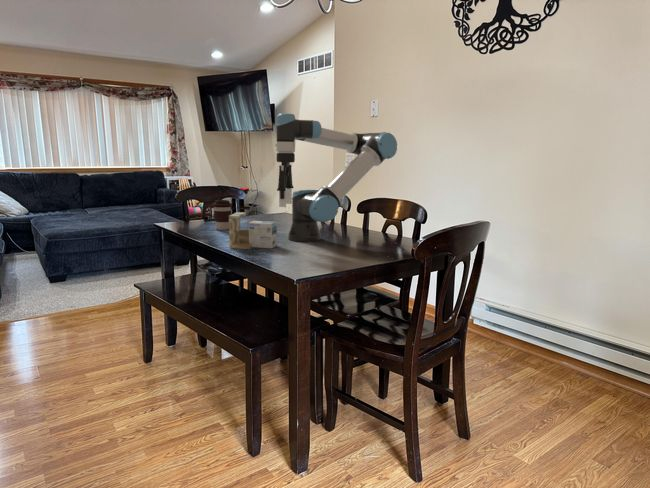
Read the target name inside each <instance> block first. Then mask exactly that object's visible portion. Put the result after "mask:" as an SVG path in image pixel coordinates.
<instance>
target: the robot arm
mask: <svg viewBox="0 0 650 488" xmlns="http://www.w3.org/2000/svg"><path fill="white" fill-rule="evenodd" d="M275 120H276V123H275V127H276V128H275V129H276V144H275V145H274V146H275V147H276V152H277V153H276V163H281V165H279V170H278V173H279V174H278V184H277V185H278V186H277V189H276V191H277V192H278V193H279V194H278V197H279V199H278V205H279V206H278V207H279V208H287V205H288V204H289V205H290V204H291V209H292V210H291V213H292V214H291V216H292V219H291V221H292V223H291V226H290V229H289V231H288V240H289V241H293V242H304V243H305V242H308V243H309V242H316V241H320V240H321V232H320V231H321V230H320V228H319V225H318V222H320V223H328V222H330V221H332V220H333V219H335V218H336V216H337V215H338V213H339V207H340V206H341V205H342V199H343V198H344V197H345V196H346V195H347V194H349V192H350V191H351V190H352V189H353V188H354V187H355V186H356V185H357V184H359V183H358V182H360V181H361V180H362V179H363V178H364V176H366V174H367V173H368V172H370V171H371V170H372V168H373V167H378V166H380V165H381V164H382V163H383V162H384V161H385V160H386V159H387V160H389V159H392V158H393V157H395V155H396V153H397V152H398V141H397V139H396V137H395V136H394V135H393V134H392V133H391V132H386V131H382V132H369V133H368V132H366V133H359V132H358V133H356V132H351V133H346V132H343V131H338V130H333V129H328V128H324V127H322V124H321V122H320V121H318V120H313V119H312V120H311V119H310V120H309V119H296V116H295V114H294V113H278V114H277V115H276V119H275ZM296 141H301V142H307V143H310V144H316V145H320V146H326V147H331V148H335V149H341V150H345V151H346V152H347V153H349V154H354V155H356V157H355V158H353V160H352V161H351V162H350V163H348V165H346V167H345V168H344V169H343V170H342V171H341V172H340V173H339V174H338V175H337V176H336V177H335V178H334V179H333V180H332V181H330V183H329V184H328V185H325V186H324V185H323V186H321V187H320V188H319V189H318V190H317V189H302V190H301V189H299V190H294V191H292V189H294V185H293V177H292V176H293V174H292V167H293V166H292V164H290V163H295V160H296V158H295V155H296V154H295V153H294V152H296Z"/></svg>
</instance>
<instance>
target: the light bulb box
mask: <svg viewBox="0 0 650 488" xmlns="http://www.w3.org/2000/svg"><path fill="white" fill-rule="evenodd" d="M277 223H278V222H277V221H271V220H270V221H268V220H267V221H266V220H252V221H249V222H248V230H249V243H248V244H251V248H261V249H262V248H263V249H273V248H276V247H277V246H278V243H277V242H278V239H277V238H278V237H277V236H278V233H277V231H278V230H277V228H278V227H277V225H278V224H277Z"/></svg>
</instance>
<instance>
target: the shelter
mask: <svg viewBox="0 0 650 488" xmlns="http://www.w3.org/2000/svg"><path fill="white" fill-rule="evenodd" d="M245 216H247V212H245V211H241V212H240V211H236V212H234V213H233V214H232V213H231V215H229V229H228V232H229V233H228V236H229V237H228V238H229V241H228V245H229V249H245V250H247V249H248V250H249V249H252V247H251V244H249V229H241V225H240V224H241V223H240V222H241V221H240V219H241V218H243V217H245Z"/></svg>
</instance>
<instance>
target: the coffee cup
mask: <svg viewBox="0 0 650 488" xmlns="http://www.w3.org/2000/svg"><path fill="white" fill-rule="evenodd" d="M211 206H212V208H213V215H214V216H213V217H214V218H213V220H214V222H215V223H214V224H215V229H216V230H217V229H218V230H219V231H223V230H224V231H227V229H228V230H229V215H232V207H233V203H231V202H230V200H229V199H216V200H215V201H214V202H213V203H212V205H211Z"/></svg>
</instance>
